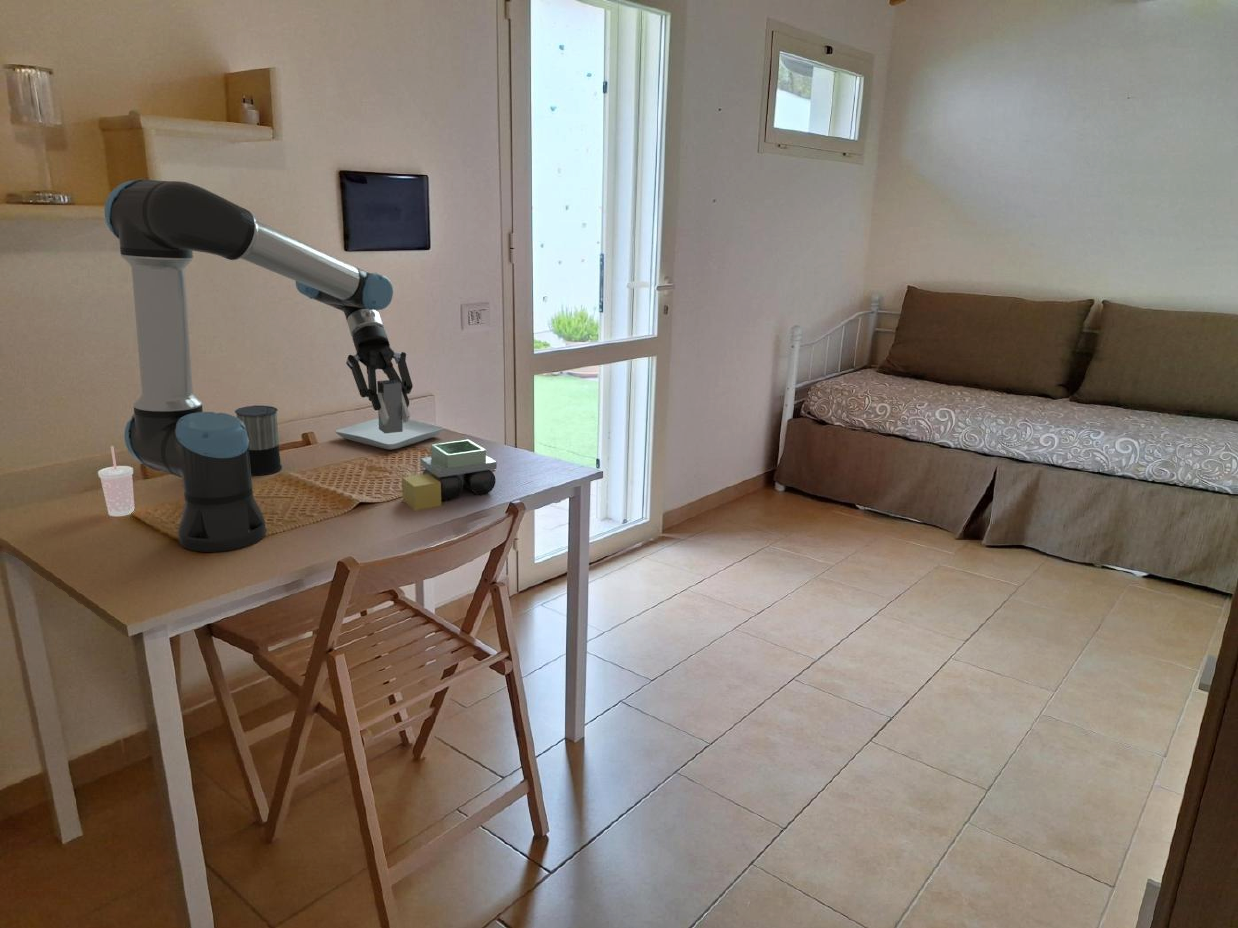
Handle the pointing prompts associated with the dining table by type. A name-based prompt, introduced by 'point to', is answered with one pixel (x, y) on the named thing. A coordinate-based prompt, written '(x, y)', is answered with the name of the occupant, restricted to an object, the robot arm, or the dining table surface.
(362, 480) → the dining table surface
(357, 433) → the salad plate
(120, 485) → the beverage cup
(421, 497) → the block
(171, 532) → the dining table surface
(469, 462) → the box
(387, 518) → the dining table surface
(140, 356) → the robot arm
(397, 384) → the pin
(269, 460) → the milk frother
